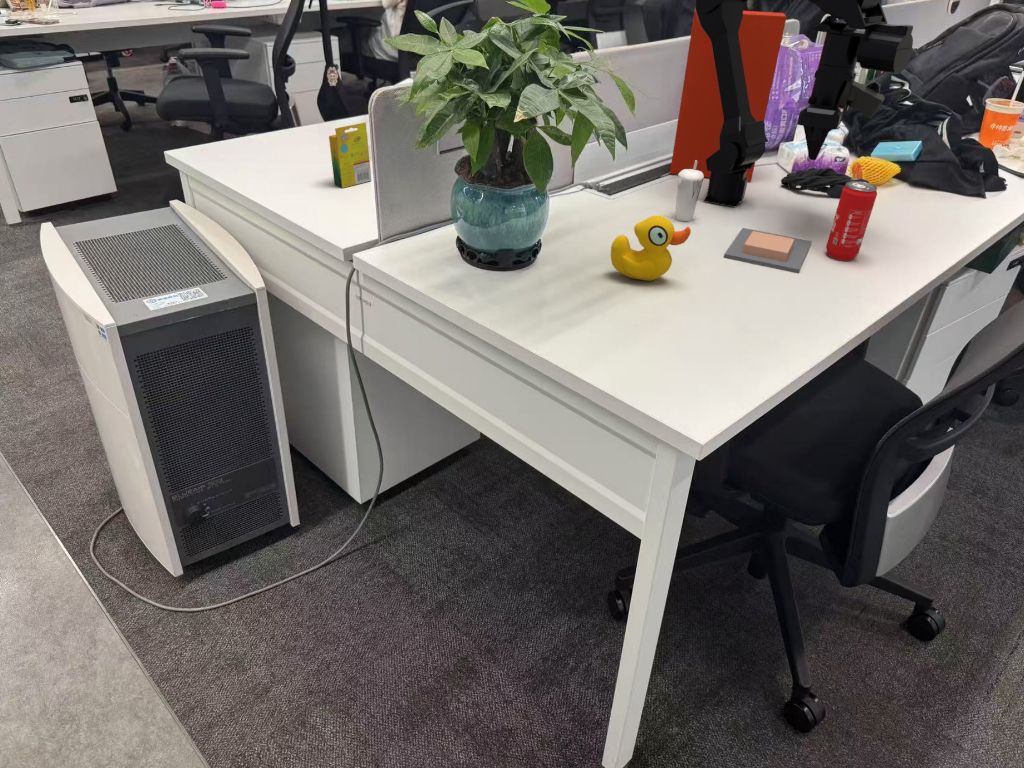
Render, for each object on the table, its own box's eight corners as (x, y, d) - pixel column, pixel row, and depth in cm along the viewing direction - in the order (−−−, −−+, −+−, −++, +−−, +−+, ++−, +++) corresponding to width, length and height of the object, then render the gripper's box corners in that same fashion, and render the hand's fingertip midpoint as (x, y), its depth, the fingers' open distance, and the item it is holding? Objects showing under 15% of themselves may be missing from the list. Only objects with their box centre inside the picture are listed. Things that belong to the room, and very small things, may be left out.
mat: (723, 257, 119) (724, 253, 119) (741, 230, 130) (742, 227, 129) (798, 273, 115) (799, 269, 115) (810, 244, 125) (811, 241, 125)
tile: (751, 239, 125) (742, 252, 120) (752, 230, 124) (744, 244, 119) (792, 247, 122) (785, 261, 117) (794, 239, 122) (787, 253, 116)
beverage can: (841, 263, 119) (863, 192, 112) (817, 252, 122) (837, 183, 116) (863, 258, 121) (886, 188, 114) (838, 247, 124) (859, 179, 118)
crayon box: (363, 177, 149) (358, 119, 142) (372, 181, 147) (367, 122, 140) (333, 185, 144) (327, 125, 138) (341, 188, 142) (335, 128, 136)
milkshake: (699, 215, 136) (708, 162, 130) (692, 224, 132) (702, 170, 126) (675, 211, 137) (684, 158, 132) (668, 220, 133) (677, 166, 128)
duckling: (681, 275, 113) (692, 214, 107) (681, 290, 108) (692, 226, 103) (609, 267, 114) (616, 206, 109) (606, 281, 110) (613, 218, 105)
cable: (785, 197, 148) (790, 176, 145) (772, 177, 159) (776, 157, 157) (871, 202, 147) (877, 181, 144) (851, 182, 158) (857, 162, 156)
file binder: (671, 164, 164) (695, 7, 146) (748, 171, 161) (782, 12, 143) (669, 174, 157) (694, 11, 140) (750, 182, 154) (786, 16, 137)
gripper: (886, 78, 109) (855, 180, 117) (893, 61, 123) (865, 154, 131) (809, 70, 113) (785, 169, 121) (824, 55, 127) (802, 145, 135)
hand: (812, 159), depth 127 cm, fingers closed
